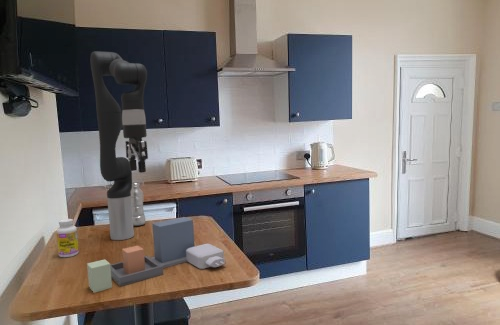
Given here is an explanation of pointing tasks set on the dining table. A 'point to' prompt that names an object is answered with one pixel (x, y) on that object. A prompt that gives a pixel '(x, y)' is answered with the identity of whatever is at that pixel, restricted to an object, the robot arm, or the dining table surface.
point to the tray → (123, 278)
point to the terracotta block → (133, 259)
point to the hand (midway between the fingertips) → (137, 171)
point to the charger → (205, 256)
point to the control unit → (172, 241)
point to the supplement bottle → (67, 238)
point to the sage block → (99, 275)
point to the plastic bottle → (137, 204)
